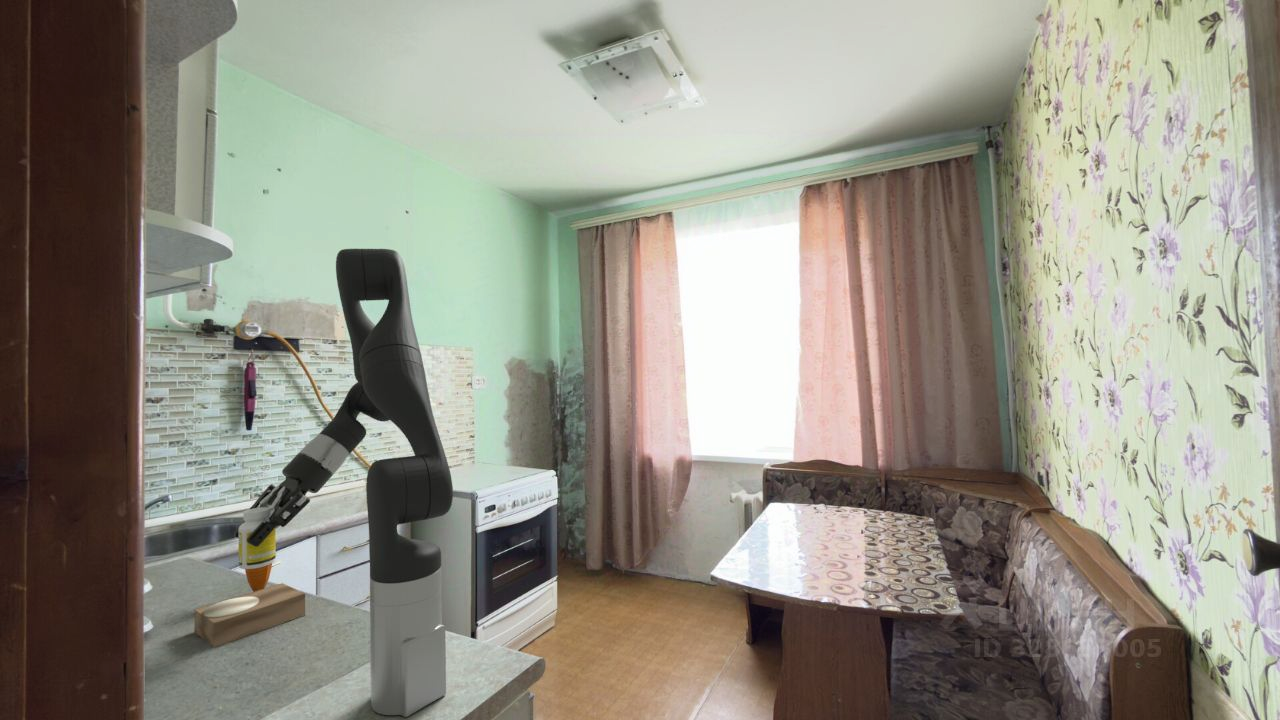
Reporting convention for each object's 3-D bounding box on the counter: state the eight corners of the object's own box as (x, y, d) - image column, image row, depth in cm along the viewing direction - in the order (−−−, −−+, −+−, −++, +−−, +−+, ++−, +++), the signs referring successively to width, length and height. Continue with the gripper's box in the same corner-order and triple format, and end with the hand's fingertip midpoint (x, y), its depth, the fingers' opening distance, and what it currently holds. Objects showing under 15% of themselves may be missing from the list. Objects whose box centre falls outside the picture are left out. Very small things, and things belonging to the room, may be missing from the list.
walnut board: (305, 614, 100) (305, 592, 100) (214, 647, 88) (214, 621, 88) (282, 603, 105) (282, 581, 105) (194, 632, 94) (194, 607, 94)
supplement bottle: (283, 559, 96) (282, 506, 96) (256, 570, 91) (255, 514, 91) (258, 558, 97) (258, 505, 97) (230, 569, 92) (230, 513, 92)
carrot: (257, 601, 107) (257, 527, 107) (237, 599, 108) (237, 526, 108) (278, 591, 111) (278, 520, 112) (259, 589, 112) (259, 519, 113)
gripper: (286, 448, 105) (212, 523, 95) (319, 454, 96) (241, 537, 86) (315, 470, 109) (247, 544, 99) (349, 477, 100) (278, 559, 91)
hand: (245, 540), depth 93 cm, fingers closed on supplement bottle, 5 cm apart
